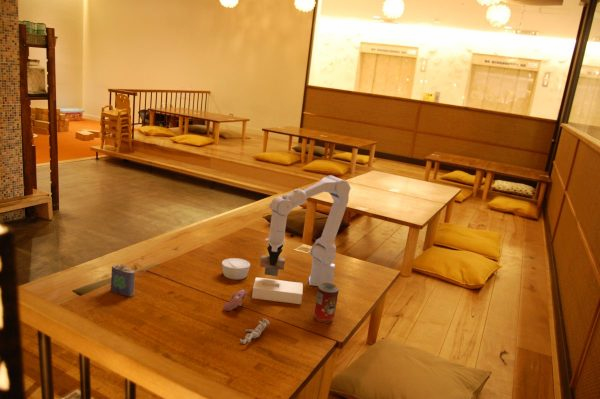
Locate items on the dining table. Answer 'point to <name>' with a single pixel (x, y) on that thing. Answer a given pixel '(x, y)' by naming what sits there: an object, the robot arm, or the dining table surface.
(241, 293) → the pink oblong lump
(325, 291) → the soda can
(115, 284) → the flask
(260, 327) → the soldier figure
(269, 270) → the rail end
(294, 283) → the white rectangular box
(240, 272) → the ramekin
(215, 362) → the dining table surface
